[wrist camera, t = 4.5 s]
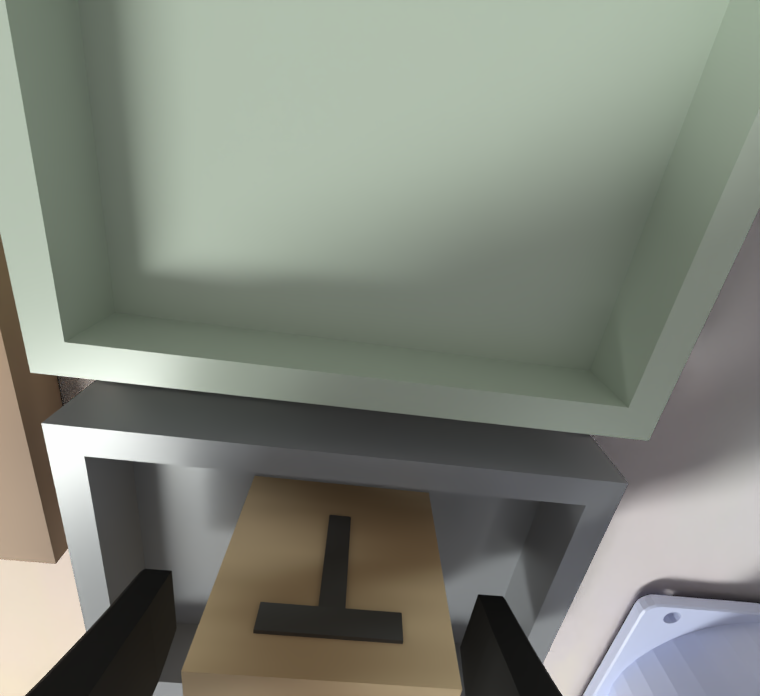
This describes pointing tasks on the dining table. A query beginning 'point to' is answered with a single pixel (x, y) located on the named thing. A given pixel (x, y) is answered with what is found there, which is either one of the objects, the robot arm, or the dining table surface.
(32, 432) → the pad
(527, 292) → the sage tray
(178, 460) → the gray tray
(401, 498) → the letter cube
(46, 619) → the dining table surface
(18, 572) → the dining table surface
